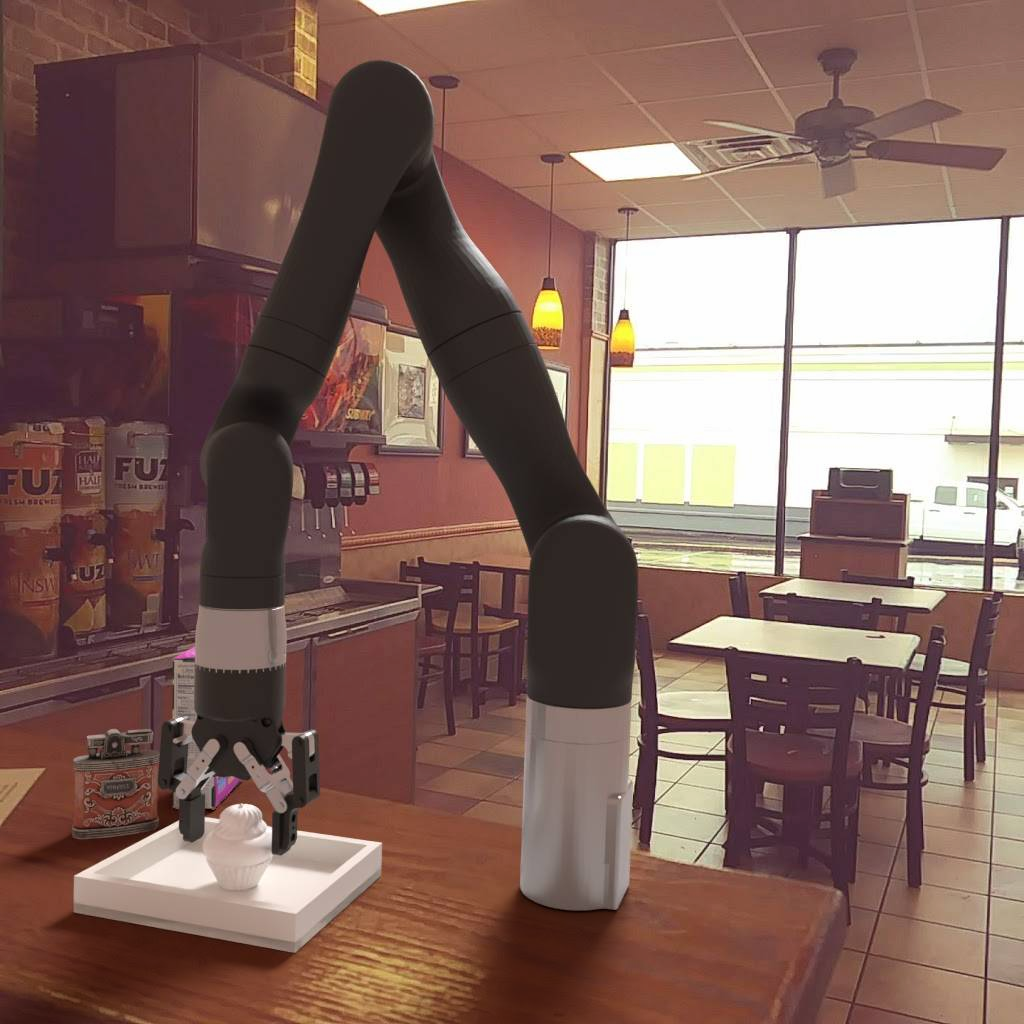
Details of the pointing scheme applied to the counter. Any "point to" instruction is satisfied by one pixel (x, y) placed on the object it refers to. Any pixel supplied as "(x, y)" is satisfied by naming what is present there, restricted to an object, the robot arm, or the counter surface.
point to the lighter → (116, 786)
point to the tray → (220, 912)
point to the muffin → (239, 847)
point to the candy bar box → (185, 706)
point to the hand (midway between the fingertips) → (236, 845)
